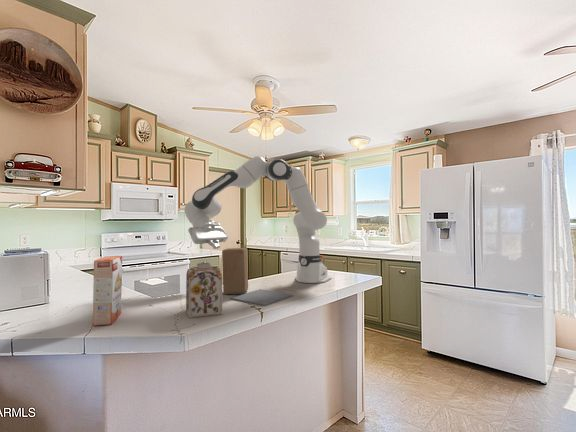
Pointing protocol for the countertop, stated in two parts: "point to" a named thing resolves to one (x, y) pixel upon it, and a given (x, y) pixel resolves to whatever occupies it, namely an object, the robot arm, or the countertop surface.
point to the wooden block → (235, 270)
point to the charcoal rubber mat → (261, 297)
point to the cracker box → (107, 290)
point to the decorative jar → (203, 290)
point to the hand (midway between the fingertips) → (217, 247)
